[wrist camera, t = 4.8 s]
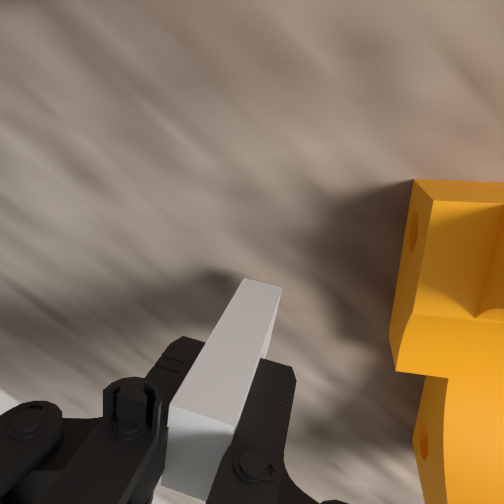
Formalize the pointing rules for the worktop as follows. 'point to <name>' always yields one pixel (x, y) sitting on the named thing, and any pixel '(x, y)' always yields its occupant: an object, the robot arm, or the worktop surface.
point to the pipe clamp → (454, 336)
